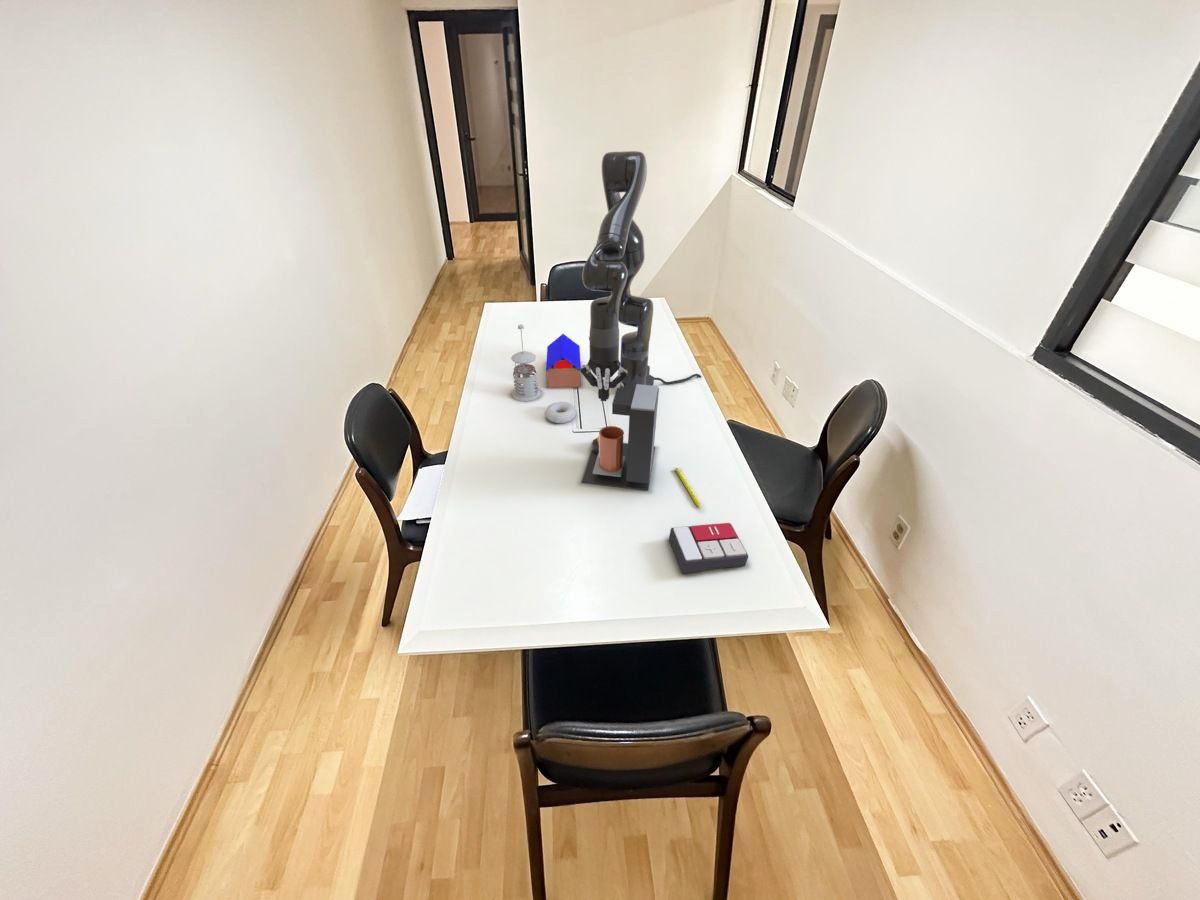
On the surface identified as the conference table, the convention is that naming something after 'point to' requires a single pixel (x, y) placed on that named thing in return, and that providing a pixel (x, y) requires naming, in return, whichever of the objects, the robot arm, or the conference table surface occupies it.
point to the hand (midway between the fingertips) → (603, 399)
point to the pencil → (688, 487)
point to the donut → (557, 407)
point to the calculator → (707, 547)
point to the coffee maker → (636, 431)
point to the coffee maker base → (610, 480)
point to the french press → (524, 375)
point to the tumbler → (611, 448)
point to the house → (563, 363)
